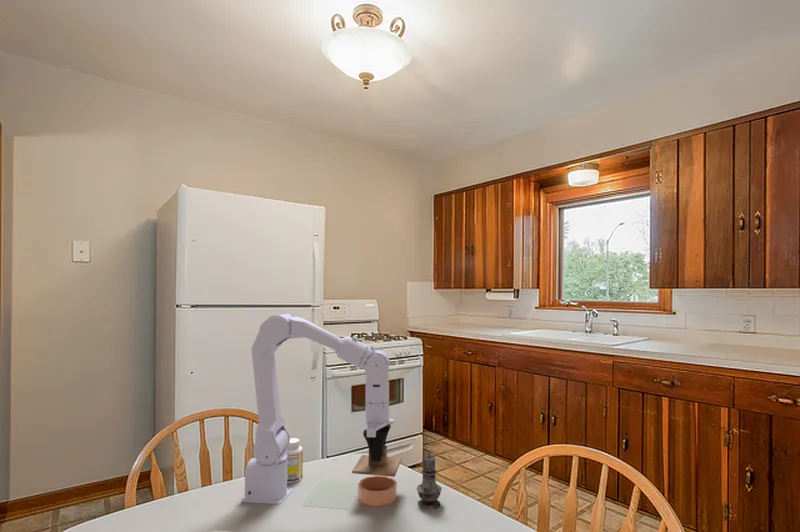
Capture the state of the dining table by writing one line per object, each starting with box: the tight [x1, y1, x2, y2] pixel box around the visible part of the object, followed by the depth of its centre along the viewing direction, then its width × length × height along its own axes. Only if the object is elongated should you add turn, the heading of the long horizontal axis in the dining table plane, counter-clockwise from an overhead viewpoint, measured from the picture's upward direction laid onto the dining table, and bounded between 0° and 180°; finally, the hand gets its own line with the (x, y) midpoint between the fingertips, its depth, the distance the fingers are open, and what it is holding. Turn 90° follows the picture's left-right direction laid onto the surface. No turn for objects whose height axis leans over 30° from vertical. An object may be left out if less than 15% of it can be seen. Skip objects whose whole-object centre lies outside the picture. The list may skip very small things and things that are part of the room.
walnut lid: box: [351, 445, 402, 478], centre depth 110 cm, size 10×10×5 cm
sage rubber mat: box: [301, 479, 360, 510], centre depth 111 cm, size 11×14×1 cm
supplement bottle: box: [285, 437, 304, 484], centre depth 120 cm, size 6×6×10 cm
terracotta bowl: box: [357, 475, 398, 507], centre depth 109 cm, size 9×9×4 cm
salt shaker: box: [416, 451, 442, 511], centre depth 106 cm, size 6×6×12 cm
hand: (377, 458), depth 110 cm, fingers closed on walnut lid, 2 cm apart
